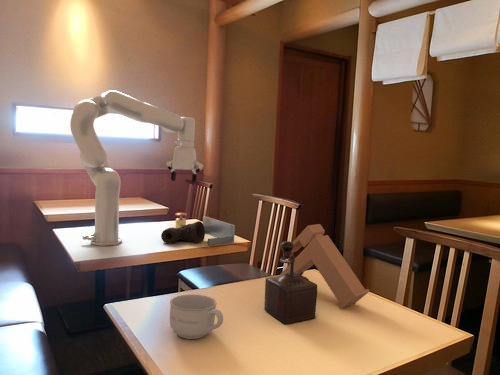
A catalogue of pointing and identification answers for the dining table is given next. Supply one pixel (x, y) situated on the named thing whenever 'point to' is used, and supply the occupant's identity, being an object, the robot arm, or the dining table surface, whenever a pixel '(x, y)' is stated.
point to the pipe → (185, 233)
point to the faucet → (327, 265)
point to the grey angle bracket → (218, 231)
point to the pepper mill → (290, 293)
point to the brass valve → (180, 220)
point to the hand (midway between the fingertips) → (183, 181)
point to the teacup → (194, 315)
